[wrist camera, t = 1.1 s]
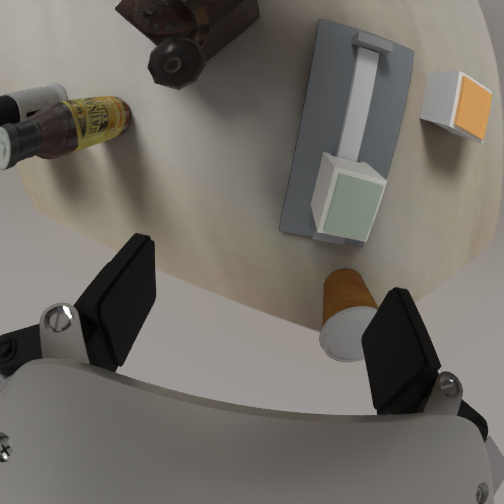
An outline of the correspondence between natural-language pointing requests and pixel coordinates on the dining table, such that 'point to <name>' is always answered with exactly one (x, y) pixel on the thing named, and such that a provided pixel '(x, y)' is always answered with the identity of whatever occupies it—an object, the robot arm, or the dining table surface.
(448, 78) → the module
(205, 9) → the pepper mill
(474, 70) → the dining table surface
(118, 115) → the sauce bottle
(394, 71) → the rail board
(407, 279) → the dining table surface
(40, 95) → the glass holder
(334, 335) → the disposable coffee cup
